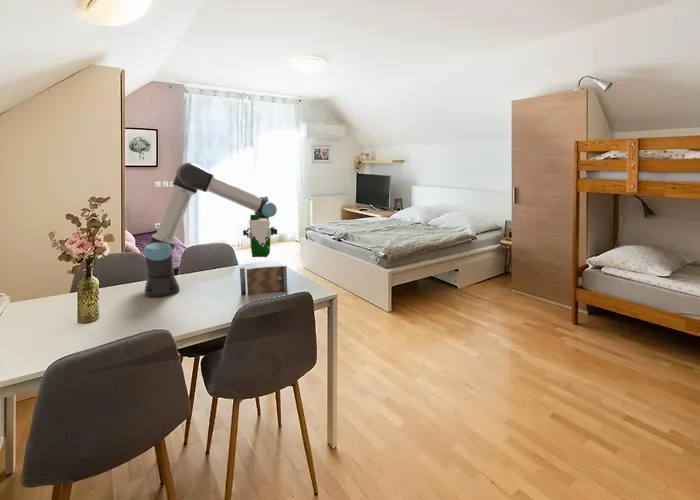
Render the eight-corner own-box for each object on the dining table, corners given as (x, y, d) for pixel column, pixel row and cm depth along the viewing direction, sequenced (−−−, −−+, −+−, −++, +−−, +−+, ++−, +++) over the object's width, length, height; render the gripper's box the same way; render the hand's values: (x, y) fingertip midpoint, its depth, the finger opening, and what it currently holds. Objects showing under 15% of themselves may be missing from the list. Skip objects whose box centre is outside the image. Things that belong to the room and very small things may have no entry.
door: (248, 295, 187) (247, 270, 185) (247, 293, 191) (246, 268, 188) (286, 291, 194) (285, 267, 191) (284, 288, 197) (284, 265, 195)
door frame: (241, 295, 188) (239, 269, 185) (241, 294, 190) (239, 267, 187) (287, 291, 194) (286, 265, 191) (286, 290, 196) (285, 264, 193)
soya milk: (254, 253, 201) (251, 213, 196) (272, 253, 201) (270, 213, 196) (249, 257, 192) (247, 216, 188) (268, 257, 192) (266, 216, 188)
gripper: (282, 233, 214) (283, 242, 192) (240, 235, 210) (236, 243, 189) (282, 219, 212) (282, 226, 191) (239, 221, 209) (235, 228, 187)
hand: (259, 235), depth 190 cm, fingers closed on soya milk, 9 cm apart
